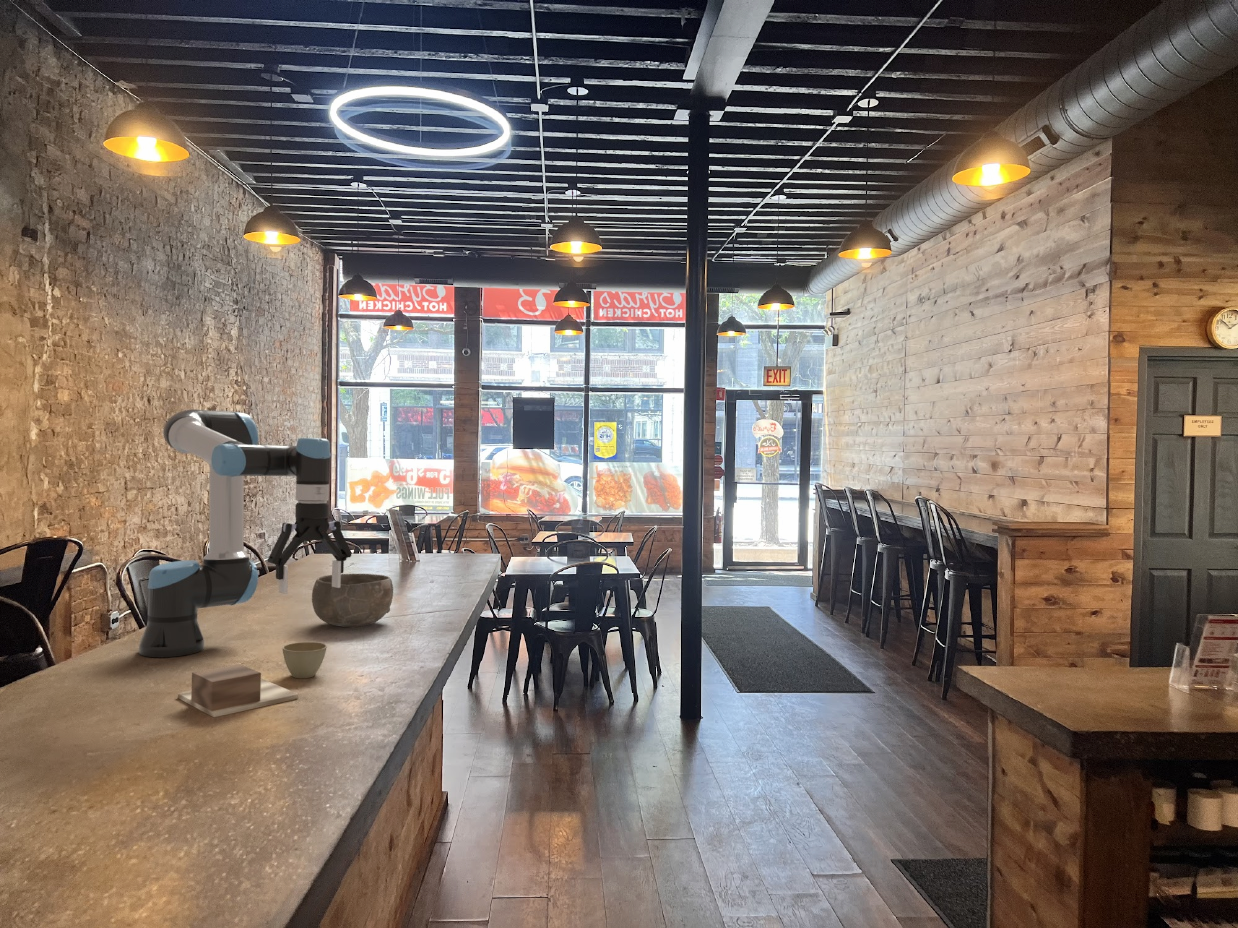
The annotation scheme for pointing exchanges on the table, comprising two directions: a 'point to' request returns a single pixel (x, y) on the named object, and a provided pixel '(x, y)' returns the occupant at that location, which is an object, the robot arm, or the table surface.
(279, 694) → the board
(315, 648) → the flower pot
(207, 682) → the pedestal
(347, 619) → the bowl
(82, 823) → the table surface
